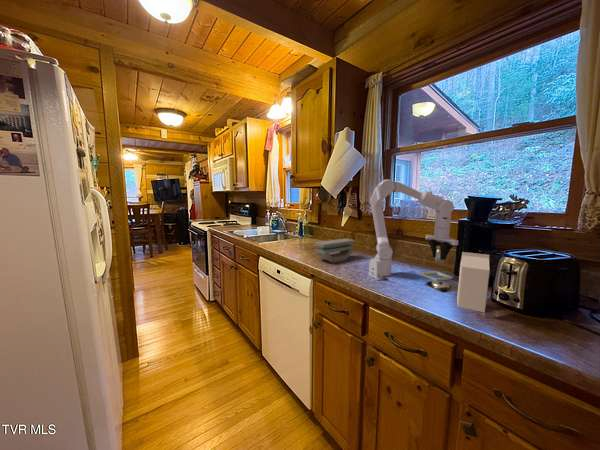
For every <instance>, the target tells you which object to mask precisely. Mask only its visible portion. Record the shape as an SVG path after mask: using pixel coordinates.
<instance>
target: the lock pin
mask: <svg viewBox="0 0 600 450" xmlns="http://www.w3.org/2000/svg"><path fill="white" fill-rule="evenodd" d="M434 262H435V263H437V264H444V263H445V260H441V249H440V245H436V256H435V257H434Z"/></svg>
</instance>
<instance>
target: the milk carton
mask: <svg viewBox="0 0 600 450" xmlns="http://www.w3.org/2000/svg"><path fill="white" fill-rule="evenodd" d="M490 269H491V268H490V254H485V253H484V254H483V253H474V252H466V251H465V252H464V251H462V253H461V257H460V265H459V275H458V283H459V284H458V291H457V295H456V297H457V298H456V302H457V303H456V305H457V307H459V308H462V309H465V310H466V309H467V310H472V311H476V312H480V313H476V314H475V315H477V316H481V317H485V315H486V314H485V313H486V305H487V296H488V295H487V294H488V288H489V287H488V286H489V279H490Z"/></svg>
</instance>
